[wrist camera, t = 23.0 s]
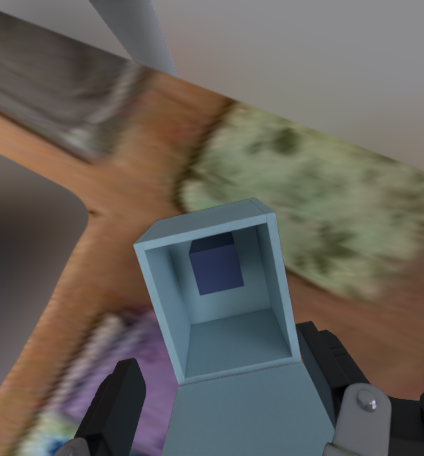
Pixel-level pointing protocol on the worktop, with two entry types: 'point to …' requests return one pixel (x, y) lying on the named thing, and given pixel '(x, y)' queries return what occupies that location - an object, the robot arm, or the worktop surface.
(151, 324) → the worktop surface
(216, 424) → the lid
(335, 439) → the robot arm
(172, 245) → the light blue storage bin
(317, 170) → the worktop surface
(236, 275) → the block
